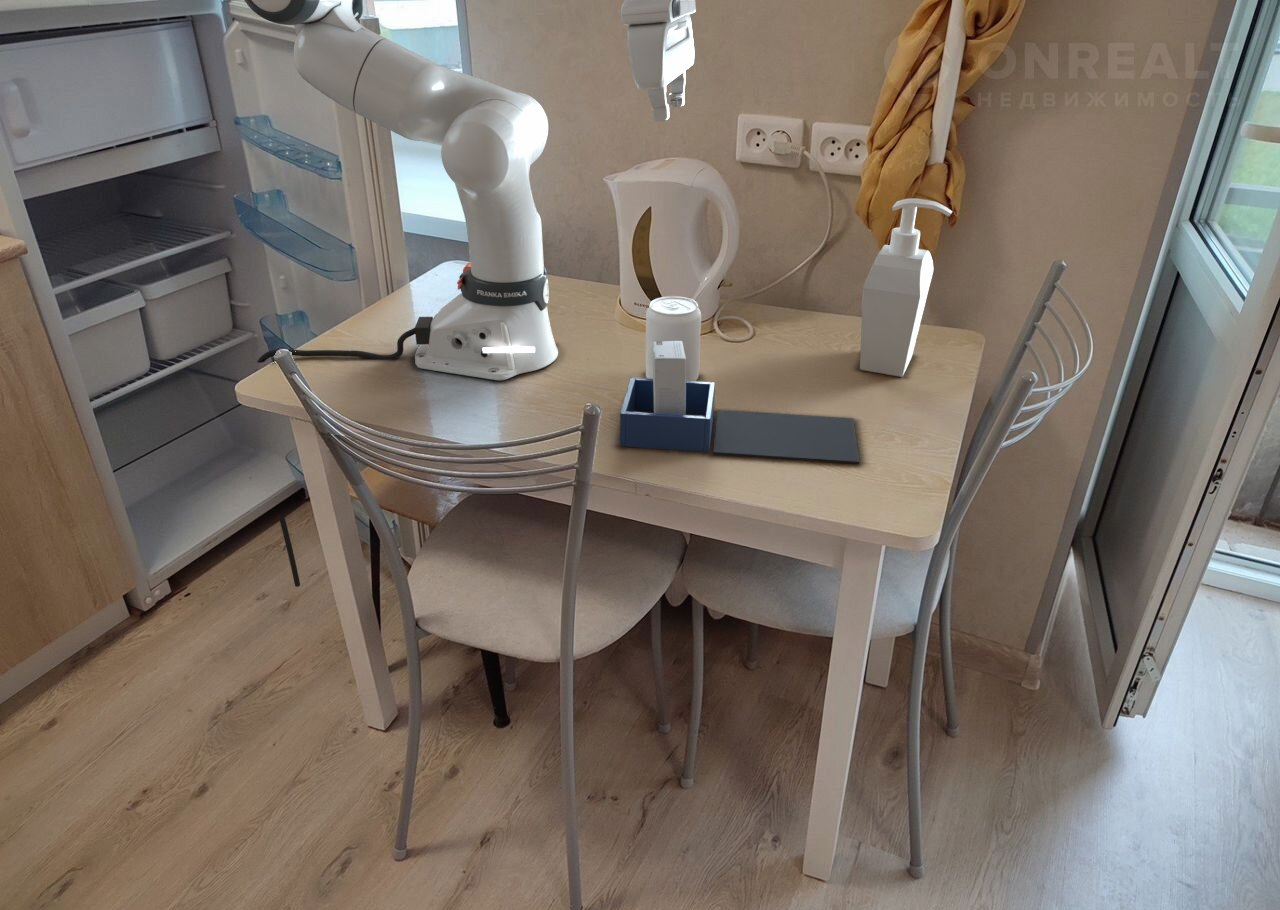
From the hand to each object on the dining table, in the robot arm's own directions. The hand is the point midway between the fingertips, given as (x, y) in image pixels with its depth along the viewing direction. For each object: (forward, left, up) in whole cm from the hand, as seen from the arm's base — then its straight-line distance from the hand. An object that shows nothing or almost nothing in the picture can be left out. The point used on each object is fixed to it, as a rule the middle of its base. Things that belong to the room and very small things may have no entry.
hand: (670, 113), depth 128 cm
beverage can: (+2, -4, -38) cm, 38 cm away
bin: (+3, -20, -38) cm, 43 cm away
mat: (+19, -20, -38) cm, 47 cm away
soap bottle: (+36, +6, -38) cm, 53 cm away
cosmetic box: (+3, -20, -38) cm, 43 cm away
